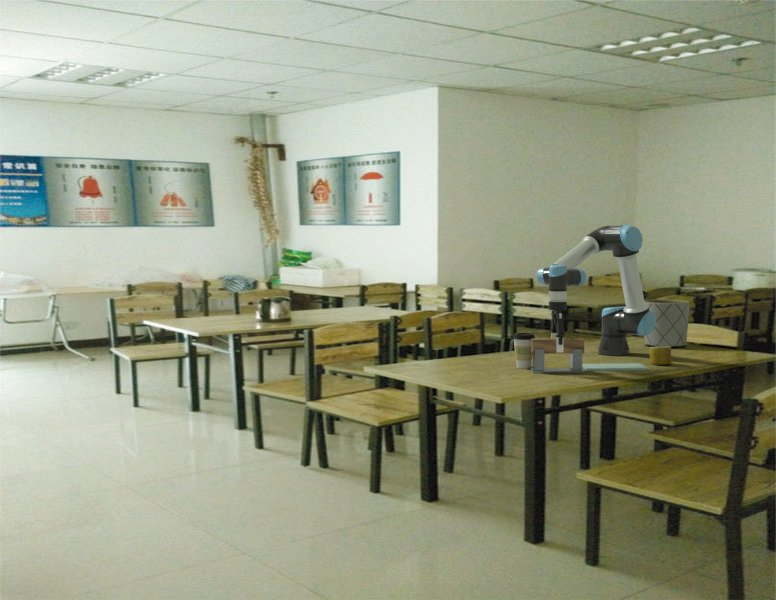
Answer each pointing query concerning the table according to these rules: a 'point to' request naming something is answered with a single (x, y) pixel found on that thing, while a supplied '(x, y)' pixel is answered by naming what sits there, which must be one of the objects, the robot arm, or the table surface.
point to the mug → (660, 355)
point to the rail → (551, 345)
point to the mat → (614, 367)
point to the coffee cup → (523, 349)
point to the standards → (574, 368)
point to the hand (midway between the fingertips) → (557, 350)
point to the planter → (669, 322)
